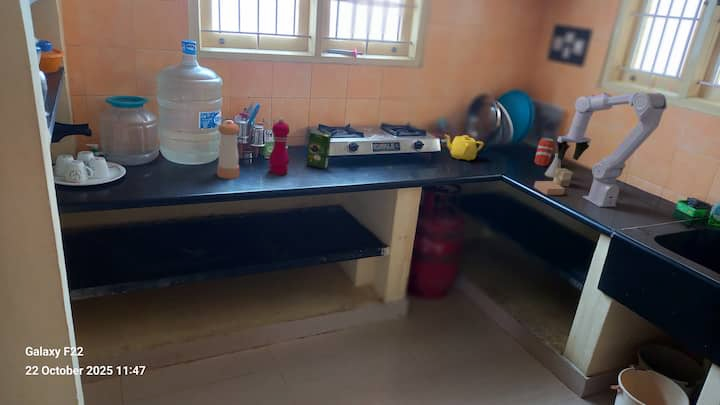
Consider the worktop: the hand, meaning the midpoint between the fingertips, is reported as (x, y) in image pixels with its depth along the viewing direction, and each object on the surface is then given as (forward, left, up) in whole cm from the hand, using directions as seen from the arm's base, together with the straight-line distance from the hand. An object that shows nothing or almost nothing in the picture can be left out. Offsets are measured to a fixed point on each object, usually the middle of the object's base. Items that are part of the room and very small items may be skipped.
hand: (567, 159), depth 208 cm
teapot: (+33, +29, -11) cm, 45 cm away
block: (0, 0, -11) cm, 11 cm away
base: (-7, +12, -11) cm, 17 cm away
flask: (+9, -3, -11) cm, 14 cm away
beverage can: (+24, -8, -11) cm, 27 cm away
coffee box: (+21, +98, -11) cm, 101 cm away
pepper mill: (+15, +114, -11) cm, 116 cm away
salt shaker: (+12, +132, -11) cm, 133 cm away
